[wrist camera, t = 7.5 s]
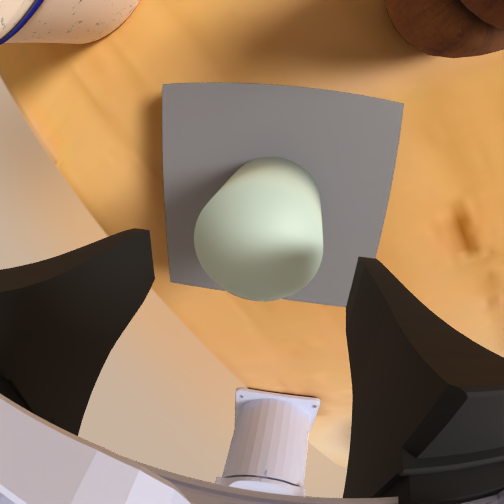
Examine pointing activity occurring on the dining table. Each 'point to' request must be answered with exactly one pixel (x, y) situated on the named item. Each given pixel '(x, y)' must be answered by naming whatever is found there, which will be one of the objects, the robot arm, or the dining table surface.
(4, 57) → the dining table surface
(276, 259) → the sage cylinder
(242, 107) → the gray square block
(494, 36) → the wooden figurine
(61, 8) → the teacup with lid
